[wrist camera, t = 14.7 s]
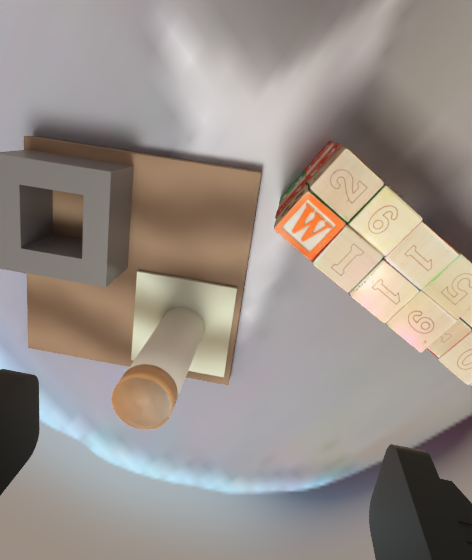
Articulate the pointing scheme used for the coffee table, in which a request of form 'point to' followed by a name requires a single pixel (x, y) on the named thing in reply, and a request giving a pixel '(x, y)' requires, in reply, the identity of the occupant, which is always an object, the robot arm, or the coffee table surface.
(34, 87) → the coffee table surface
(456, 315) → the stack of blocks
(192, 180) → the base board
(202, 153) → the coffee table surface
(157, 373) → the plug
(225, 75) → the coffee table surface
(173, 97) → the coffee table surface
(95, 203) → the grey square frame
